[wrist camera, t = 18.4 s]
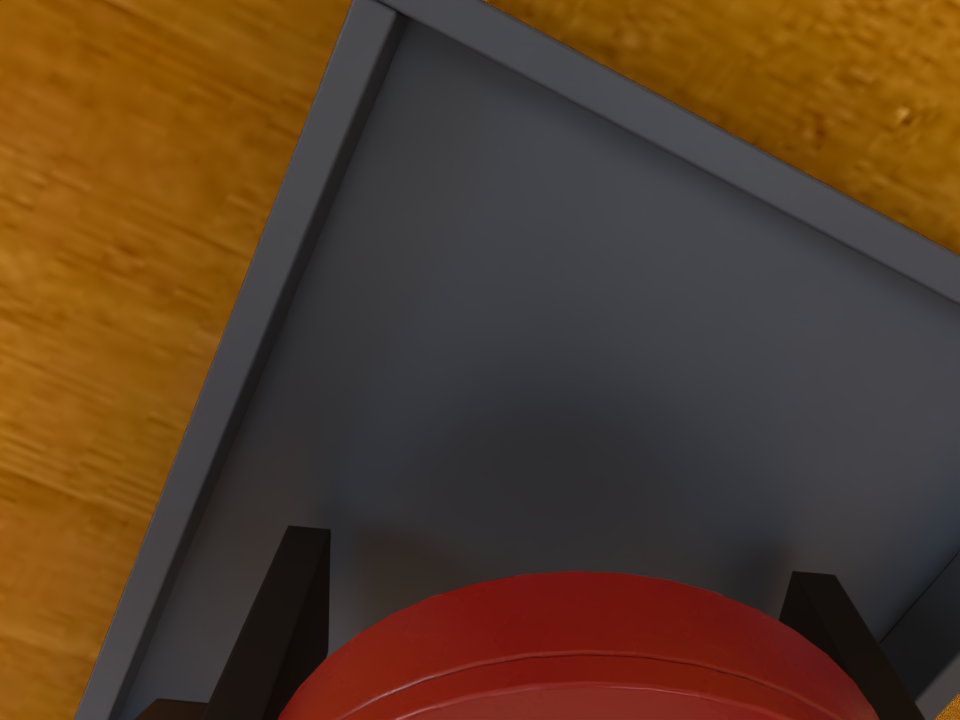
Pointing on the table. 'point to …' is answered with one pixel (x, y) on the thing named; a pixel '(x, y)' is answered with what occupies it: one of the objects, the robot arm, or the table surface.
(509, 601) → the jar lid
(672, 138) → the tray
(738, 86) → the table surface
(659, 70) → the table surface
